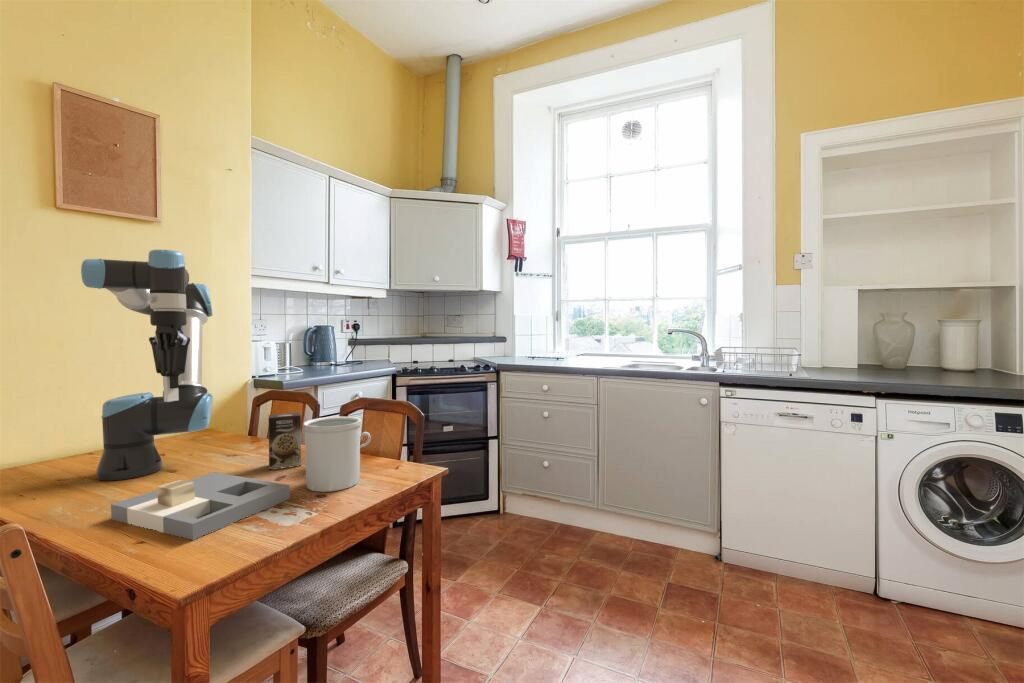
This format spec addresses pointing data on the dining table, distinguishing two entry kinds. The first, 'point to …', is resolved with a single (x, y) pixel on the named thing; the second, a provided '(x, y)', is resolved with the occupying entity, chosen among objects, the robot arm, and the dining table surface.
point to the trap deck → (202, 505)
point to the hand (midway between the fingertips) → (171, 400)
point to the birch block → (176, 493)
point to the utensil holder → (332, 453)
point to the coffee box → (284, 440)
